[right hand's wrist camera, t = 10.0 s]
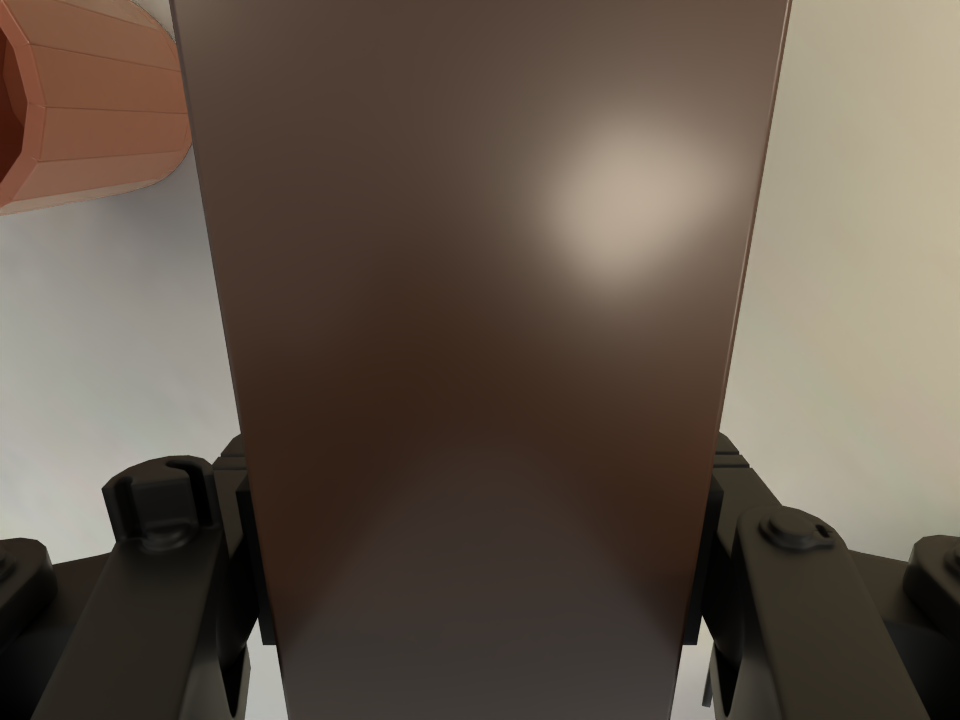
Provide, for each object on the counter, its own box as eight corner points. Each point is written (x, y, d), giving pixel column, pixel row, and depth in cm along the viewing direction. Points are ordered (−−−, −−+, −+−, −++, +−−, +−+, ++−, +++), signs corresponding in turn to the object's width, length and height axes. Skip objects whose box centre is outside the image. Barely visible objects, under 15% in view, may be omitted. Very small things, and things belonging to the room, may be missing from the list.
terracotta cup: (178, -14, 22) (-6, -100, 14) (211, 190, 25) (75, 222, 16) (-19, -14, 22) (-323, -100, 14) (36, 190, 25) (-190, 222, 16)
